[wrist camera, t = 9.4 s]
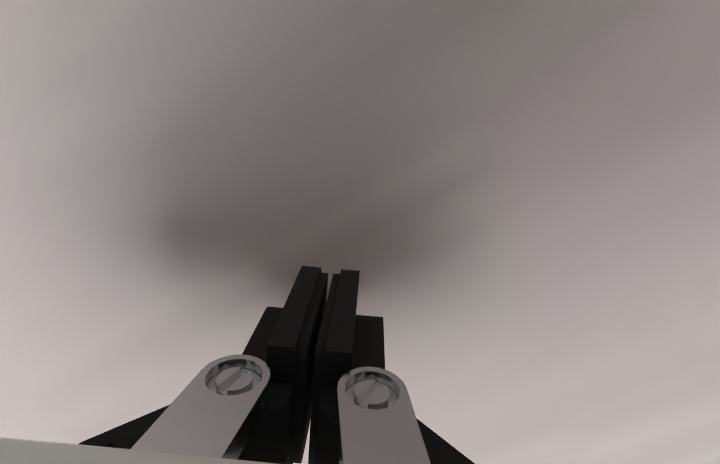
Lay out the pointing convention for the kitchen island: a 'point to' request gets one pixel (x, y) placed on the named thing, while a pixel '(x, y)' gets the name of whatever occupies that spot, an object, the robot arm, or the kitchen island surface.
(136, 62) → the kitchen island surface
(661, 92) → the kitchen island surface
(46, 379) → the kitchen island surface
